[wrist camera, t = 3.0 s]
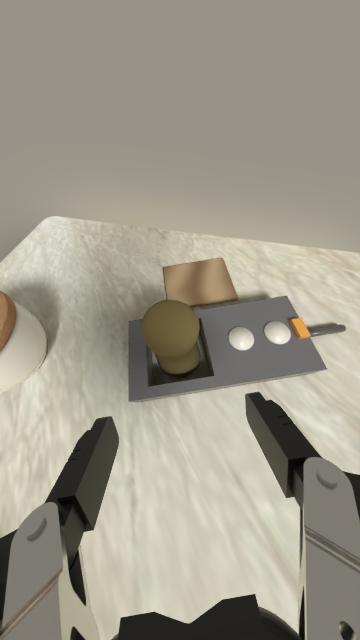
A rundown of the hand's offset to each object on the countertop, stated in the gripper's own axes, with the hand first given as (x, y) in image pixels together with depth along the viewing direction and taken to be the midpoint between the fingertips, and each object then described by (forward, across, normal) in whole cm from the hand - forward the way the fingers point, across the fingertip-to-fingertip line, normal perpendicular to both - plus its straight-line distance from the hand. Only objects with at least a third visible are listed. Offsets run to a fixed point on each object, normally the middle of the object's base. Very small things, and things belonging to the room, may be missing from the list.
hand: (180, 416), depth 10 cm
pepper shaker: (+13, 0, +3) cm, 14 cm away
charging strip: (+13, -9, +3) cm, 16 cm away
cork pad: (+22, -5, -5) cm, 23 cm away
